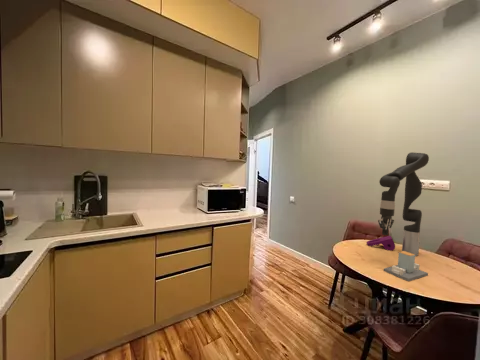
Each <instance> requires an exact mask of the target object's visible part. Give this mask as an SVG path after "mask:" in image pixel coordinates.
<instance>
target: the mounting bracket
mask: <svg viewBox="0 0 480 360" xmlns="http://www.w3.org/2000/svg"><path fill="white" fill-rule="evenodd" d="M366 245H367V246H368V247H373V246H378V245H382V246H383V248H384V249H385V251H390V252H392V251H394V250H395V249H396V244H395V242H394V240H393V238H392V235H385V236H383V237H379V238H375V239H373V238H372V239H370V240H368V241H366Z"/></svg>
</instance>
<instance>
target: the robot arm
mask: <svg viewBox="0 0 480 360" xmlns="http://www.w3.org/2000/svg"><path fill="white" fill-rule="evenodd" d="M429 160H430V156H429V155H428V154H427V153H423V152H409V153H407V155H406V158H405V164H404V165H401V166H399V167H397V168H395V169H394V170H393V171H392V172H389V173H386V174H384V175H383V176H381V178H380V179H379V182H378V183H379V185H380V186H381V187H382V188H388V190H384V191H382V192H381V200H380V206H379V215H381V216H380V219H378V220H377V222H378V225H379V228H381V231H382V233H381V234H382V235H383V236H389V230H390V229H392V227H393V224H394V222H395V220H394V219H393V217H394V216H395V206H396V205H395V204H396V203H395V201H396V194H397V191H398V189H399V187H400V185H401V181H403V180H404V179H405V184H404V185H405V186H404V202H403V209H402V220H404V221H406V222H412V223H413V224H410V225H409V224H408V225H404V227H403V235H402V244H401V245H402V247H401V251H406V252H409V253H412V254H415V257H418V256H419V254H420V253H419V252H420V232H421V224H422V223H421V222H422V218H423V217H422V216H423V214H422V210H421V209H417V208H416V209H415V208H410V207H411V205H412V204H413V203H414V202H415V201H416V200H417V199H418V198H419V197H420V196H421V194H422V192H423V191H422V190H423V183H422V181H421V180H420V178H419V176H418V175H417V173H416V171H419V170H421V169H422V168H424V167H426V166H427V164H428V163H429Z"/></svg>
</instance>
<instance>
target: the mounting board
mask: <svg viewBox="0 0 480 360" xmlns="http://www.w3.org/2000/svg"><path fill="white" fill-rule="evenodd" d="M420 266H421V265H420V264H419V263H415V264H414V271H413V272H411V273H407V269H404V268H399V267H398V264H396V265H392V266H388V267H384V268H383V272H384V273H385V272H386V273H388V274H390V275H392V276H395V277H396V278H399V279H402V280H404V281H407V282H411V281H415V280H419V279H421V278H424V277H428V276H429V272H427V271H424V270H421V269H420Z"/></svg>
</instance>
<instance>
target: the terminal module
mask: <svg viewBox="0 0 480 360" xmlns="http://www.w3.org/2000/svg"><path fill="white" fill-rule="evenodd" d="M415 262H416V256H415V254H412V253H409V252H406V251H402V250H401V251H399V252H398V258H397V265H398V267H399V268H404V269H407V273H411V272H413V271H414V264H415Z"/></svg>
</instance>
